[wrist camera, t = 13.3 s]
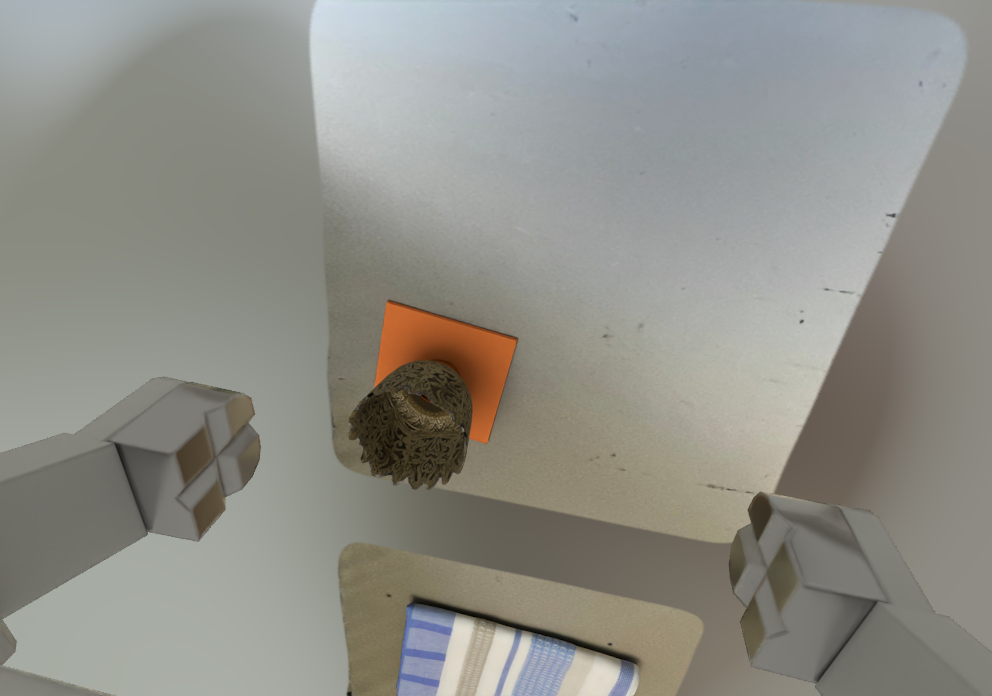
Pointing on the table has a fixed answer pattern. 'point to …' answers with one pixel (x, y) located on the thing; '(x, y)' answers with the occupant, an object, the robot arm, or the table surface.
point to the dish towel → (500, 661)
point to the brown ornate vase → (415, 424)
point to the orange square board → (449, 356)
